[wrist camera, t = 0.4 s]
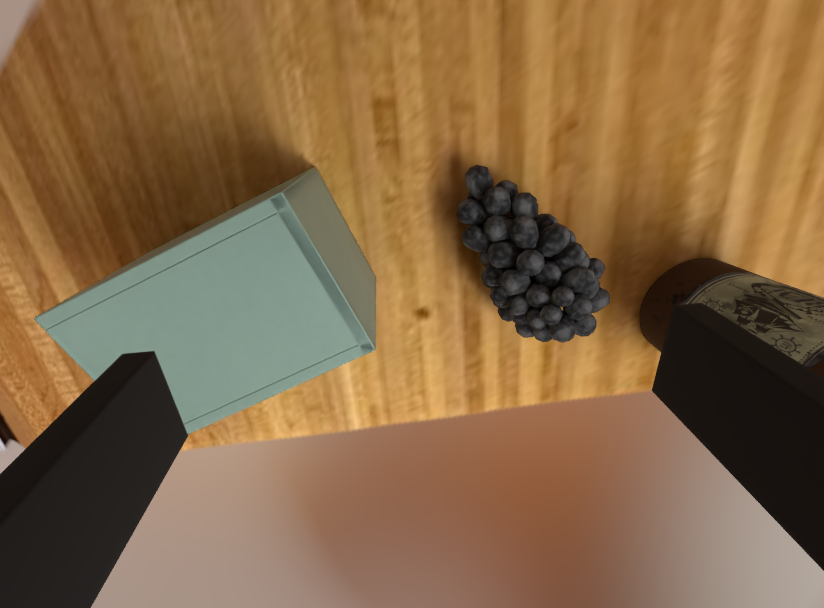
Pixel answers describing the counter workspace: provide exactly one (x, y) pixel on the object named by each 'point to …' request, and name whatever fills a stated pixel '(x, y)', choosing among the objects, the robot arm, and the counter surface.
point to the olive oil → (740, 307)
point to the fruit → (530, 261)
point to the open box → (233, 304)
